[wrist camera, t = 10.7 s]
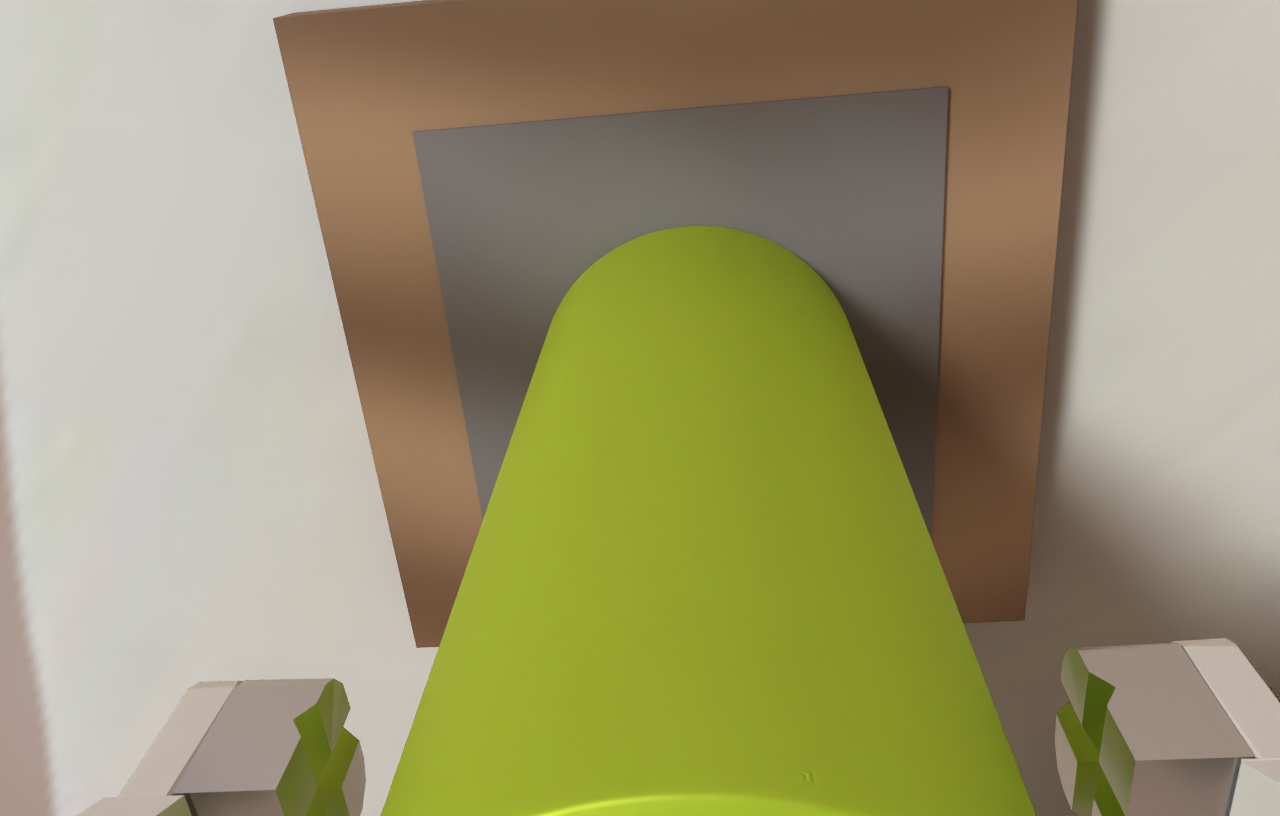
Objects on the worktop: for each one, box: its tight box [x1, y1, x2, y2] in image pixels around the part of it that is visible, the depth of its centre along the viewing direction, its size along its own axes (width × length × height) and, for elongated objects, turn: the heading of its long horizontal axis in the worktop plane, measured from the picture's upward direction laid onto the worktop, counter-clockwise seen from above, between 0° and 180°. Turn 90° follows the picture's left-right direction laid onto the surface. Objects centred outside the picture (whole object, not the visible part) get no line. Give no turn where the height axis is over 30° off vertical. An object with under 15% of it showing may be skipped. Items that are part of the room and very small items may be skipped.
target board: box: [273, 0, 1078, 648], centre depth 20 cm, size 13×13×1 cm
